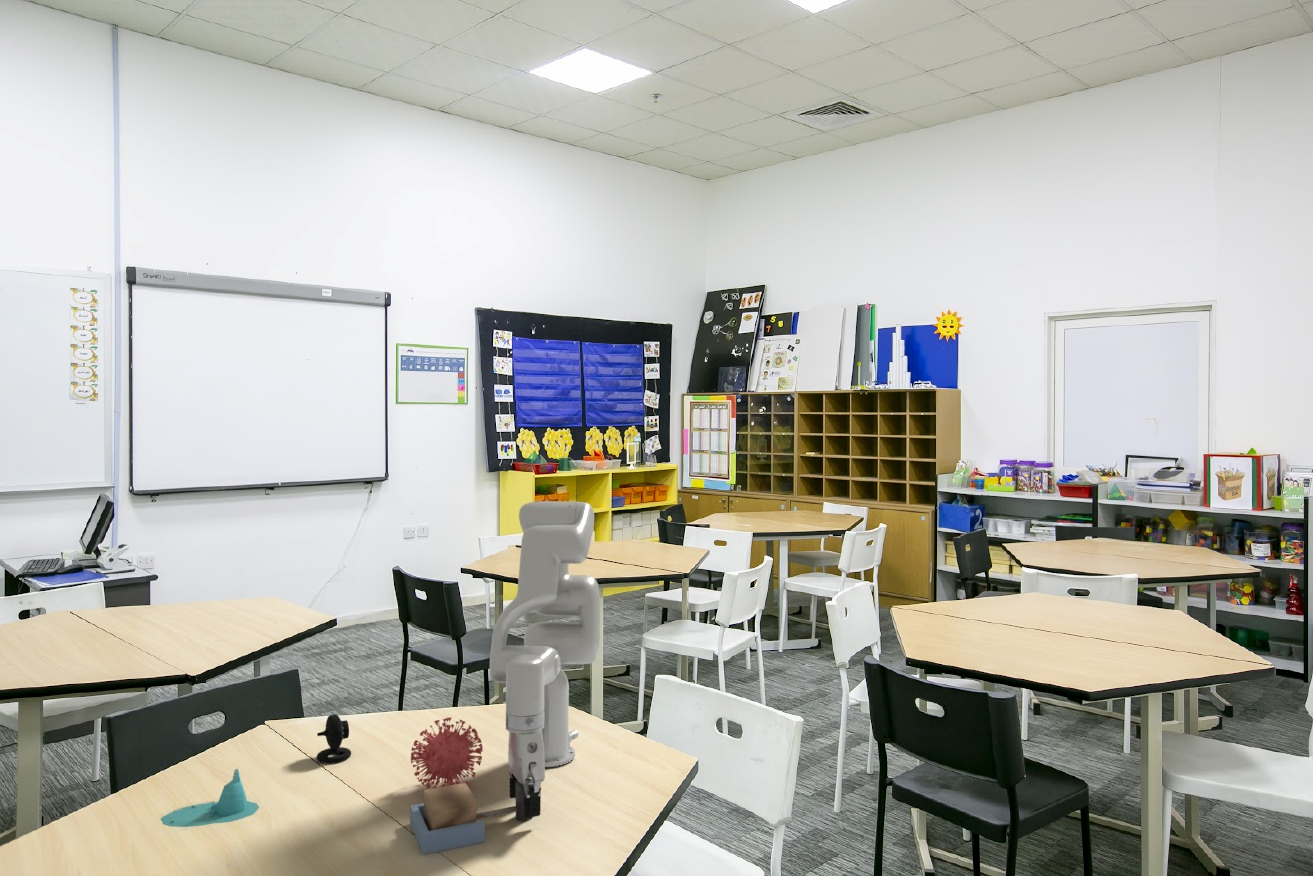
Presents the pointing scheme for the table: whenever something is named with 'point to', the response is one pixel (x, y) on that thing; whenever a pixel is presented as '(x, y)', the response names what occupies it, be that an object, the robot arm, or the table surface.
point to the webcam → (334, 740)
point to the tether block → (462, 806)
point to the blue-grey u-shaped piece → (444, 833)
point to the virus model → (446, 754)
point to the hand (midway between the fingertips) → (524, 806)
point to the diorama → (215, 808)
